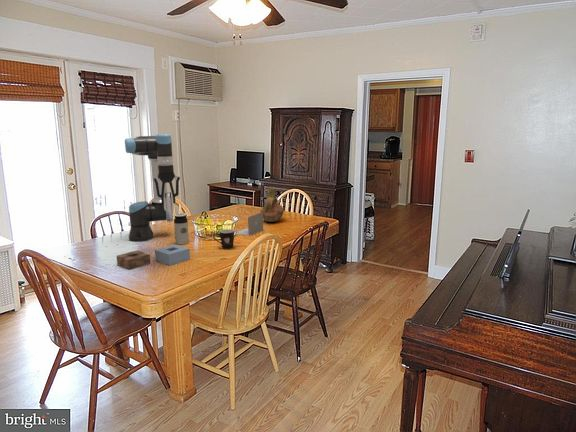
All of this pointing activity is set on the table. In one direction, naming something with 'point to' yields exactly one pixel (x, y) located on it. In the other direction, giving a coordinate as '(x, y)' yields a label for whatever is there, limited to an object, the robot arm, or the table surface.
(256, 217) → the laptop
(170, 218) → the pin
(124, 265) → the block
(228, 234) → the coffee mug
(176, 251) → the socket block
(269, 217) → the ceramic vessel
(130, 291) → the table surface
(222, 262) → the table surface
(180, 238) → the travel mug
